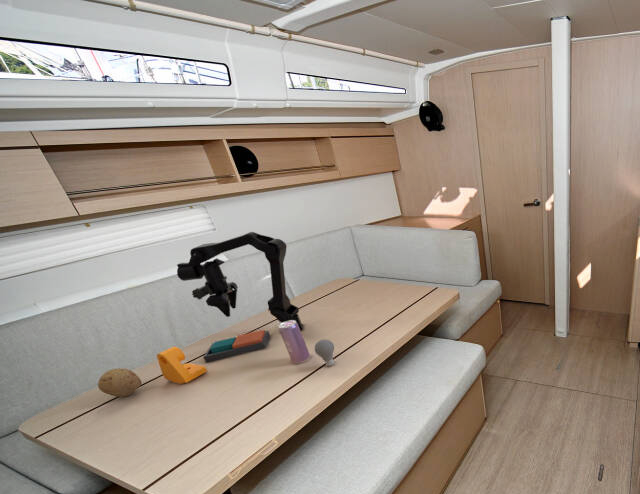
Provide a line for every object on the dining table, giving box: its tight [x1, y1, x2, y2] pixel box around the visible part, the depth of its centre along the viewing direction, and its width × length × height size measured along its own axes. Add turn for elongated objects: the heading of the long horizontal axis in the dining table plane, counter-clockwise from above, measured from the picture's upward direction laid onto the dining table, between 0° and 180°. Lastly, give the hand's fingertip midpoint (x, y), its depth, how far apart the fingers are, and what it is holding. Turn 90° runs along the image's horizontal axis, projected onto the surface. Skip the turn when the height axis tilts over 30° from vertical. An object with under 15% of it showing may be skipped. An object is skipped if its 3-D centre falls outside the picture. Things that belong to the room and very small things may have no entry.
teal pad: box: [209, 336, 237, 354], centre depth 138 cm, size 7×6×4 cm
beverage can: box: [277, 320, 311, 364], centre depth 126 cm, size 6×6×15 cm
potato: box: [97, 367, 142, 398], centre depth 115 cm, size 9×9×10 cm
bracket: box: [156, 346, 208, 385], centre depth 122 cm, size 11×7×12 cm, turn 73°
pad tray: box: [203, 330, 271, 364], centre depth 140 cm, size 20×12×3 cm, turn 115°
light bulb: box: [314, 339, 335, 367], centre depth 122 cm, size 6×6×10 cm
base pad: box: [232, 329, 266, 349], centre depth 141 cm, size 9×9×3 cm
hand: (231, 312), depth 144 cm, fingers open, 9 cm apart
